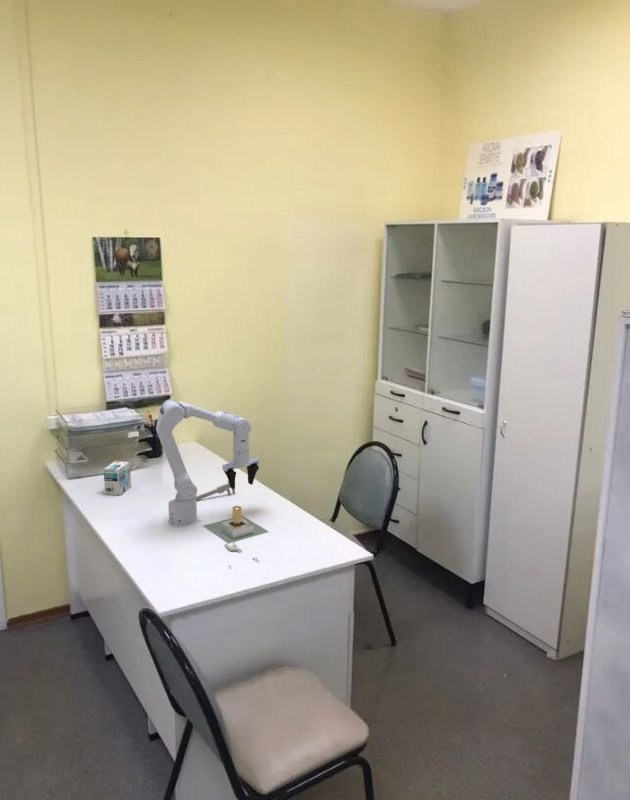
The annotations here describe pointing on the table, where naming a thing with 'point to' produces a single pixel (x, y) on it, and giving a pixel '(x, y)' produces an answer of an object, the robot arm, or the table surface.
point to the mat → (217, 531)
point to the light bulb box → (117, 478)
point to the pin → (237, 516)
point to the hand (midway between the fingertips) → (241, 485)
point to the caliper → (216, 491)
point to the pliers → (235, 549)
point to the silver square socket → (237, 529)
